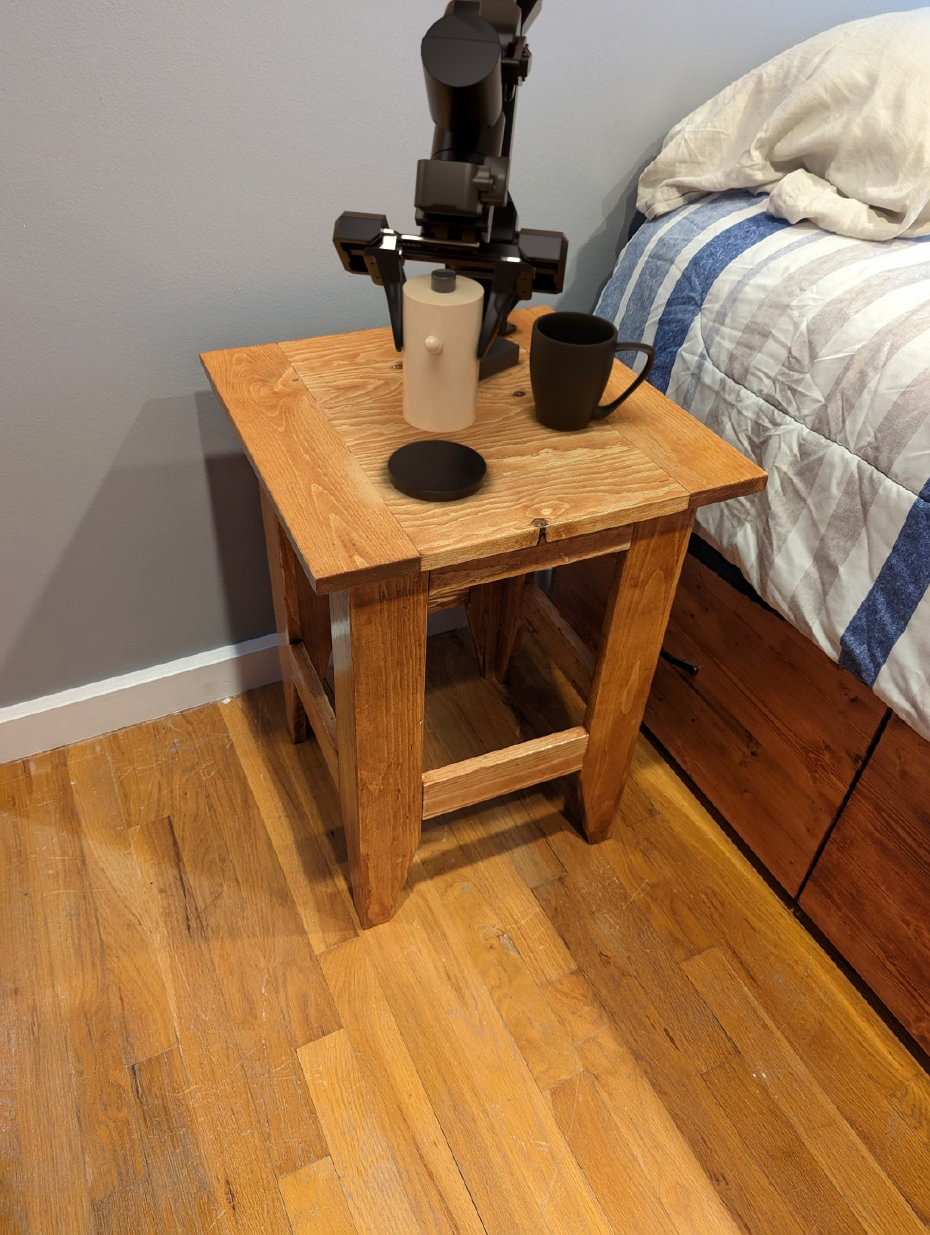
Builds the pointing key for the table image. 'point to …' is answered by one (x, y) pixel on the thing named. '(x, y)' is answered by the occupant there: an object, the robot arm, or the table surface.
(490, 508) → the table surface
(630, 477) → the table surface
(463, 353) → the cream cylinder
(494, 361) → the switch block
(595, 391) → the mug
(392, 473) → the plate
